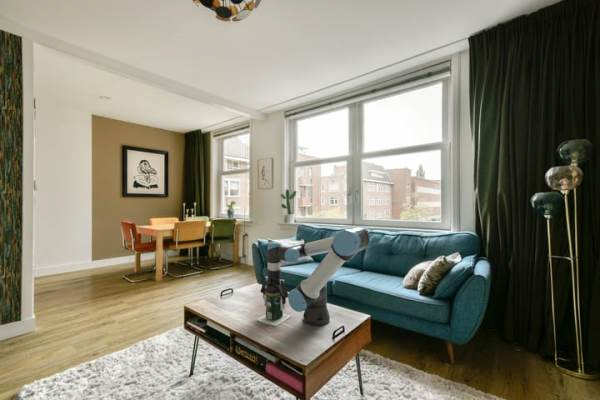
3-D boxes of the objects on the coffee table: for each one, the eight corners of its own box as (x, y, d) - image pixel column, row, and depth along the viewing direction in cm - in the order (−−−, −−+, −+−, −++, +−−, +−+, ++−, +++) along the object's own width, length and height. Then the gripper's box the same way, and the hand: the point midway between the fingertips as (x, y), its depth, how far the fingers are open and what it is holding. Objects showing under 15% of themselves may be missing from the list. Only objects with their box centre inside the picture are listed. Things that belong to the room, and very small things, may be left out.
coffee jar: (275, 312, 162) (275, 281, 163) (284, 316, 157) (284, 284, 157) (263, 317, 155) (262, 285, 156) (272, 322, 150) (271, 288, 150)
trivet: (291, 317, 158) (291, 315, 158) (276, 326, 146) (276, 325, 146) (272, 312, 166) (272, 310, 166) (256, 320, 154) (256, 319, 154)
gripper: (294, 270, 153) (295, 309, 153) (262, 265, 166) (262, 301, 166) (287, 273, 147) (287, 314, 147) (254, 267, 159) (254, 305, 159)
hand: (274, 307), depth 156 cm, fingers open, 11 cm apart
